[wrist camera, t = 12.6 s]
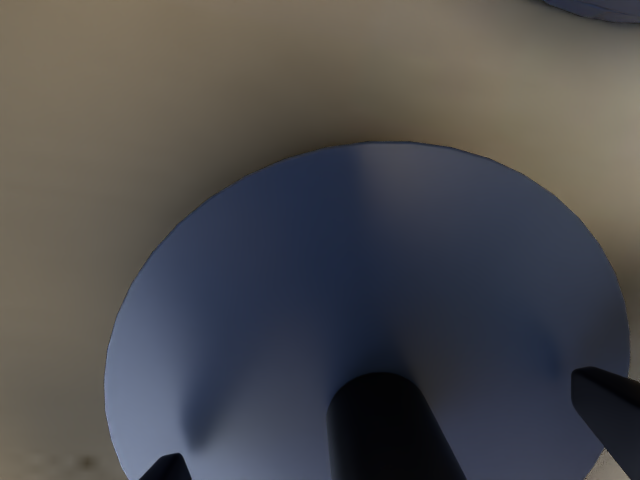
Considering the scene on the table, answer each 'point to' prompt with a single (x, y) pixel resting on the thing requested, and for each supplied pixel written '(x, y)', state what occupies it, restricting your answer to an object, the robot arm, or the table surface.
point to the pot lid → (367, 326)
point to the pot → (601, 9)
